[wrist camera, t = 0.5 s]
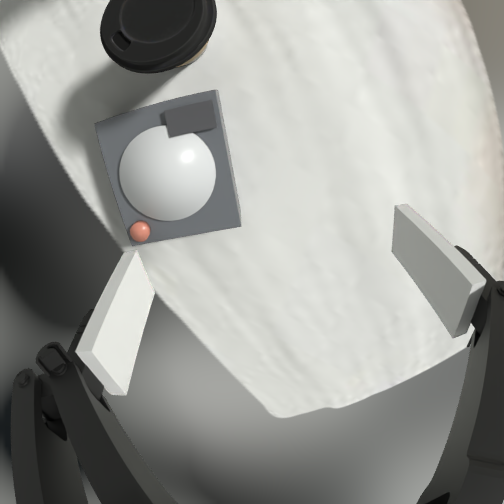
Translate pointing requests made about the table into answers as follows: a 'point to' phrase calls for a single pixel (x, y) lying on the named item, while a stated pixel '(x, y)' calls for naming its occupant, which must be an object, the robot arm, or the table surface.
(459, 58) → the table surface
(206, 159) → the grey dome button box
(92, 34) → the table surface
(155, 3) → the coffee cup
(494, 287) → the robot arm
